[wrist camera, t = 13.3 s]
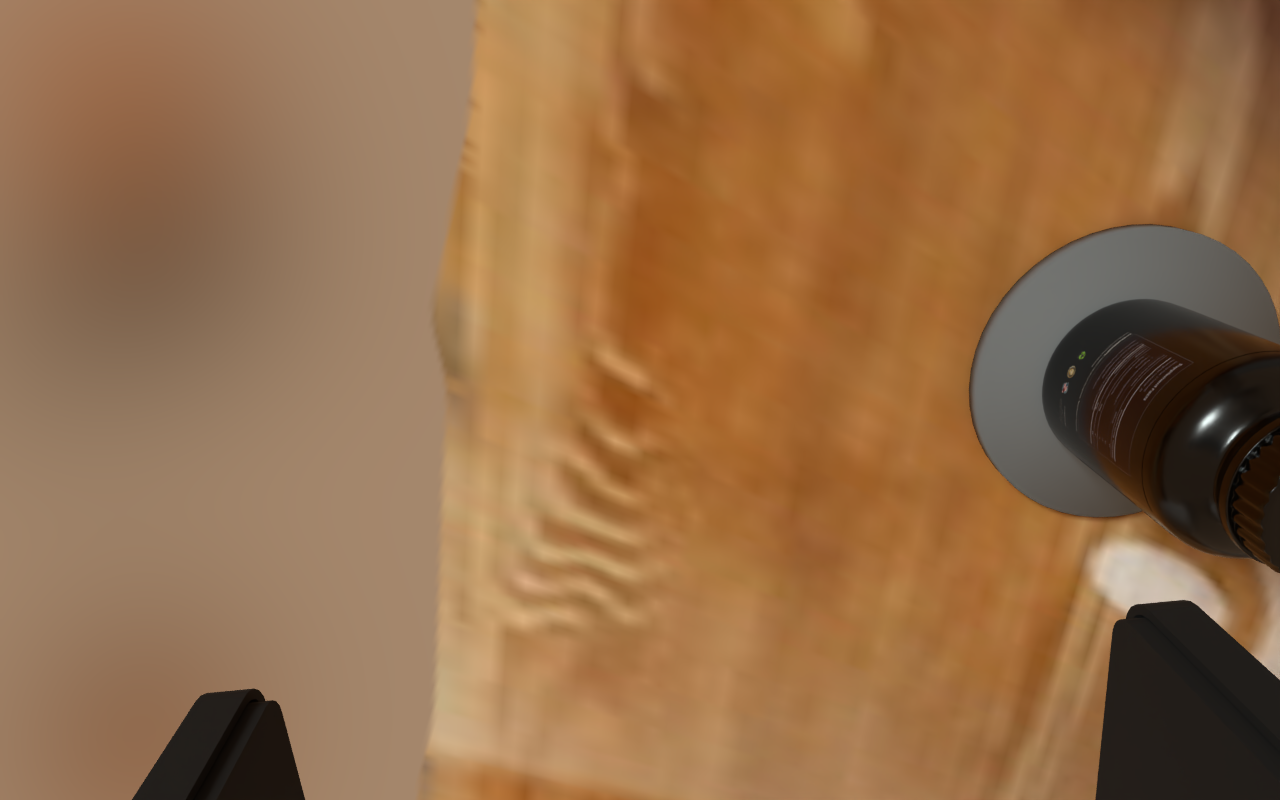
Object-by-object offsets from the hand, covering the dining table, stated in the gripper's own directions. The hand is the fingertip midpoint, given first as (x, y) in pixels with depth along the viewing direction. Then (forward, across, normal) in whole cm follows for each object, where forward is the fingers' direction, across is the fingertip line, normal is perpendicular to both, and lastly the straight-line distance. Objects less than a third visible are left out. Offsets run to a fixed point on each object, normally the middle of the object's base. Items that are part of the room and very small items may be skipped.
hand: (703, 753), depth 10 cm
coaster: (+26, -19, +6) cm, 33 cm away
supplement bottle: (+26, -19, +6) cm, 32 cm away
